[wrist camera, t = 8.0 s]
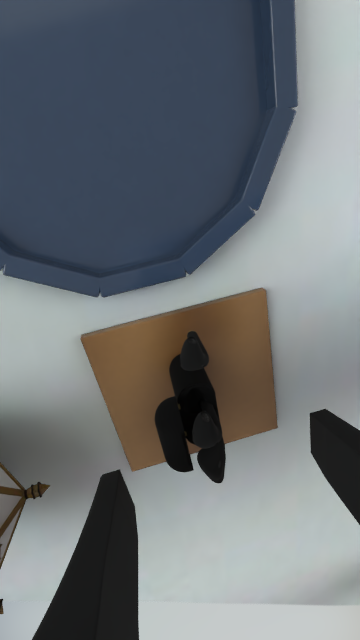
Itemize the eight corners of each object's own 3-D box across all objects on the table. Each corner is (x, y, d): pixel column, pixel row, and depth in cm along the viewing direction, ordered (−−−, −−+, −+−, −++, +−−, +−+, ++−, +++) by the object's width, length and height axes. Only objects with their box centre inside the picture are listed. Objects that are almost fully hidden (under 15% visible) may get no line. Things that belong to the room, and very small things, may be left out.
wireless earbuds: (211, 425, 16) (247, 517, 12) (165, 438, 16) (183, 537, 12) (189, 305, 13) (225, 366, 9) (132, 319, 13) (139, 389, 9)
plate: (264, -263, 8) (285, -327, 7) (289, 243, 14) (302, 247, 13) (-292, -205, 7) (-361, -270, 6) (-17, 319, 12) (-28, 331, 11)
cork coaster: (262, 287, 14) (266, 289, 14) (274, 423, 18) (277, 428, 17) (81, 334, 13) (80, 338, 13) (131, 466, 17) (132, 472, 17)
